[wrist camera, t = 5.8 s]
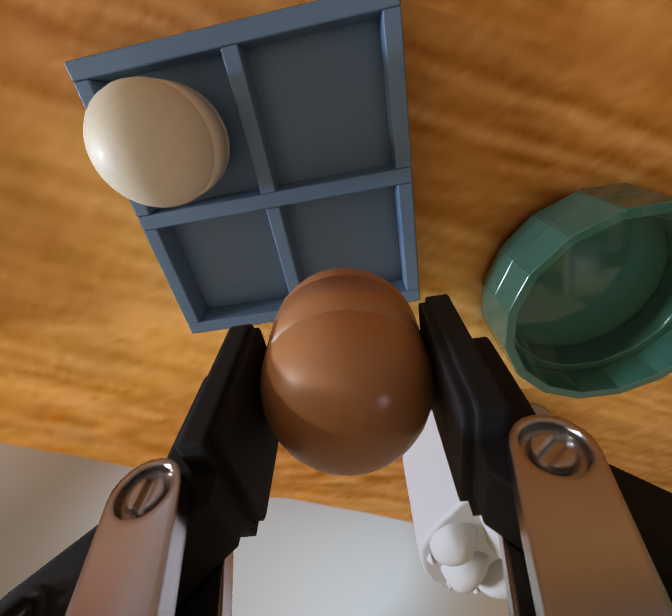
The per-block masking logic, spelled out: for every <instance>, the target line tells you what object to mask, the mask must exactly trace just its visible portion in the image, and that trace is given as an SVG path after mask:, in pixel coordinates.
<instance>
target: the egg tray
mask: <svg viewBox="0 0 672 616" xmlns="http://www.w3.org/2000/svg"><path fill="white" fill-rule="evenodd" d="M400 4H401V0H317V1H313V2H309V3H305V4H301V5H297V6H293V7H288V8H284V9H280V10H276V11H272V12H268V13H264V14H260V15H255V16H251V17H247V18H243V19H239V20H235V21H231V22H227V23H222V24H218V25H214V26H210V27H206V28H202V29H198V30H194V31H189V32H185V33H181V34H177V35H173V36H169V37H165V38H161V39H156V40H152V41H148V42H144V43H140V44H136V45H132V46H128V47H123V48H119V49H115V50H111V51H107V52H103V53H99V54H95V55H90V56H86V57H82V58H78V59H74V60H70V61H66V62H65V63H64V64H65V66H66V68H67V71H68V73H69V75H70V77H71V79H72V81H73V82H75V83H74V85H75V87H76V90H77V92H78V94H79V96H80V98H81V100H82V102H83V104H84V106H85V108H86V110H87V107H88V105H89V102H90V101H91V99H92V98H93V97H94V95H95V94H96V93H97V92H98V91H99V90H101V89H102V88H103V87H105V86H106V85H107V84H109V83H110V82H113V81H115V80H118V79H121V78H129V77H149V78H157V79H164V80H170V81H175V82H178V83H181V84H184V85H186V86H188V87H190V88H192V89H194V90H195V91H197V92H199V93H200V94H201V95H203V96H204V97H205V98H206V99H207V100H208V101H209V102H210V103H211V104H212V105H213V107H214V108H215V109H216V110H217V112H218V113H219V115H220V117H221V119H222V120H223V123H224V125H225V128H226V130H227V134H228V138H229V146H230V155H229V161H228V165H227V168H226V170H225V173H224V174H223V176H222V177H221V179H220V180H219V181H218V182H217V183H216V184H215V185H214V186H213V187H212V188H211V189H209V190H208V191H206V192H205V193H203V194H202V195H200V196H198V197H197V198H195V199H194V200H192V201H190V202H188V203H186V204H182V205H179V206H176V207H167V208H161V207H152V206H146V205H143V204H140V203H137V202H135V201H133V200H131V199H129V201H130V203H131V205H132V207H133V209H134V211H135V213H136V216H137V217H138V220H139V222H140V224H141V226H142V228H143V230H144V231H145V235H146V237H147V239H148V241H149V243H150V245H151V247H152V249H153V251H154V254H155V256H156V258H157V260H158V262H159V264H160V266H161V268H162V270H163V272H164V275H165V277H166V279H167V281H168V283H169V285H170V287H171V289H172V291H173V293H174V296H175V298H176V300H177V302H178V304H179V306H180V308H181V310H182V312H183V314H184V317H185V319H186V321H187V323H188V324H189V327H190V329H191V331H192V333H200V332H207V331H214V330H220V329H227V328H231V327H232V326H239V325H245V324H252V325H254V324H261V323H268V322H274V320H275V318H276V315H277V313H278V311H279V309H280V307H281V305H282V303H283V301H284V300H285V298H286V297H287V296H288V294H289V293H290V292H291V291H292V290H293V289H294V288H295V287H296V286H297V285H298V284H300V283H301V282H303V281H304V280H305V279H307V278H308V277H310V276H312V275H314V274H316V273H318V272H321V271H325V270H328V269H332V268H344V267H348V268H357V269H362V270H366V271H369V272H372V273H374V274H376V275H378V276H380V277H382V278H384V279H385V280H387V281H388V282H389V283H390V284H392V285H393V286H394V287H395V288H397V289H398V290H399V291H400V293H401V294H402V295H403V296H404V298H405V299H406V300H407V302H411V301H418V300H420V291H419V276H418V260H417V245H416V230H415V214H414V199H413V184H412V168H411V151H410V136H409V120H408V105H407V89H406V74H405V58H404V43H403V27H402V12H401V6H400Z"/></svg>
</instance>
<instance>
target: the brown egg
mask: <svg viewBox="0 0 672 616" xmlns="http://www.w3.org/2000/svg"><path fill="white" fill-rule="evenodd" d="M433 390H434V379H433V373H432V368H431V363H430V358H429V355H428V352H427V350H426V347H425V344H424V341H423V338H422V335H421V333H420V330H419V327H418V324H417V321H416V319H415V316H414V313H413V311H412V309H411V307H410V306H409V304H408V302H407V300H406V299H405V298H404V296H403V295H402V294H401V293H400V291H399V290H398V289H397V288H395V287H394V286H393V285H392V284H390V283H389V282H388V281H387V280H385V279H384V278H382V277H380V276H378V275H376V274H374V273H372V272H369V271H366V270H362V269H357V268H348V267H344V268H332V269H328V270H325V271H321V272H318V273H316V274H314V275H312V276H310V277H308V278H307V279H305V280H304V281H303V282H301V283H300V284H298V285H297V286H296V287H295V288H294V289H293V290H292V291H291V292H290V293H289V294H288V296H287V297H286V298H285V300H284V301H283V303H282V305H281V307H280V309H279V311H278V313H277V315H276V318H275V320H274V324H273V327H272V331H271V335H270V338H269V342H268V345H267V349H266V352H265V356H264V360H263V364H262V369H261V377H260V395H261V402H262V407H263V411H264V414H265V417H266V420H267V422H268V424H269V426H270V428H271V430H272V432H273V433H274V435H275V437H276V439H277V440H278V441H279V442H280V443H281V444H282V445H283V446H284V447H285V448H286V450H287V451H288V452H289V453H290V454H291V455H292V456H294V457H295V458H296V459H298V460H299V461H300V462H302V463H304V464H306V465H308V466H310V467H312V468H314V469H316V470H319V471H322V472H325V473H329V474H334V475H343V476H351V475H361V474H367V473H370V472H374V471H377V470H379V469H381V468H383V467H385V466H387V465H389V464H391V463H392V462H394V461H395V460H397V459H398V458H400V457H402V456H403V455H404V454H405V453H406V452H407V451H408V450H409V449H410V448H411V446H412V445H413V444H414V443H415V441H416V440H417V439H418V437H419V436H420V434H421V433H422V432H423V430H424V427H425V425H426V422H427V419H428V417H429V414H430V411H431V409H432V401H433Z"/></svg>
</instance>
